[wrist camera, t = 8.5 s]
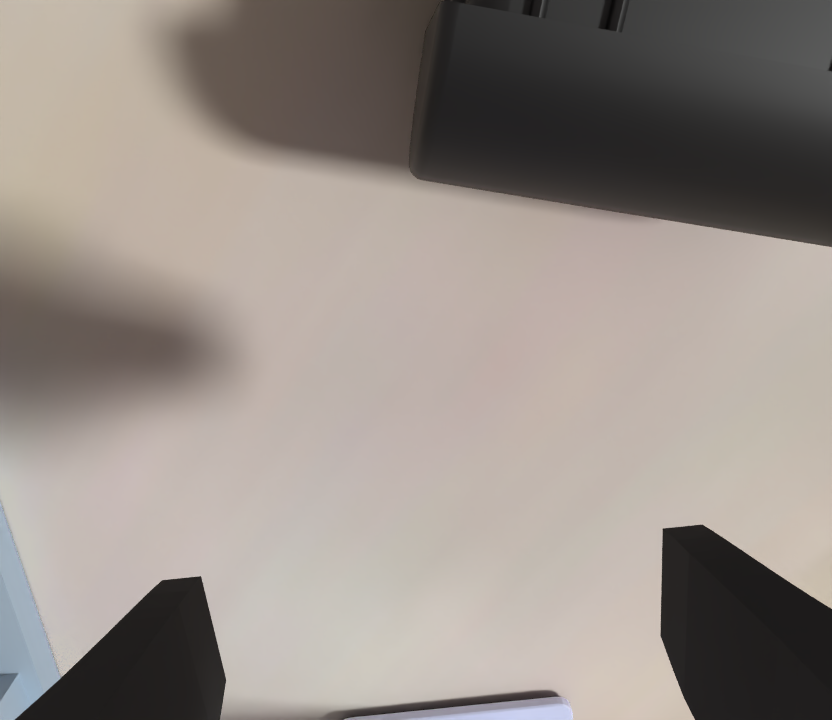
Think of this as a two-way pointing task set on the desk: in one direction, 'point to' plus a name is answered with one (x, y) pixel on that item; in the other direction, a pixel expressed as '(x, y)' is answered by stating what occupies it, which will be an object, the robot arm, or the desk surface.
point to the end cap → (636, 108)
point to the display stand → (20, 636)
